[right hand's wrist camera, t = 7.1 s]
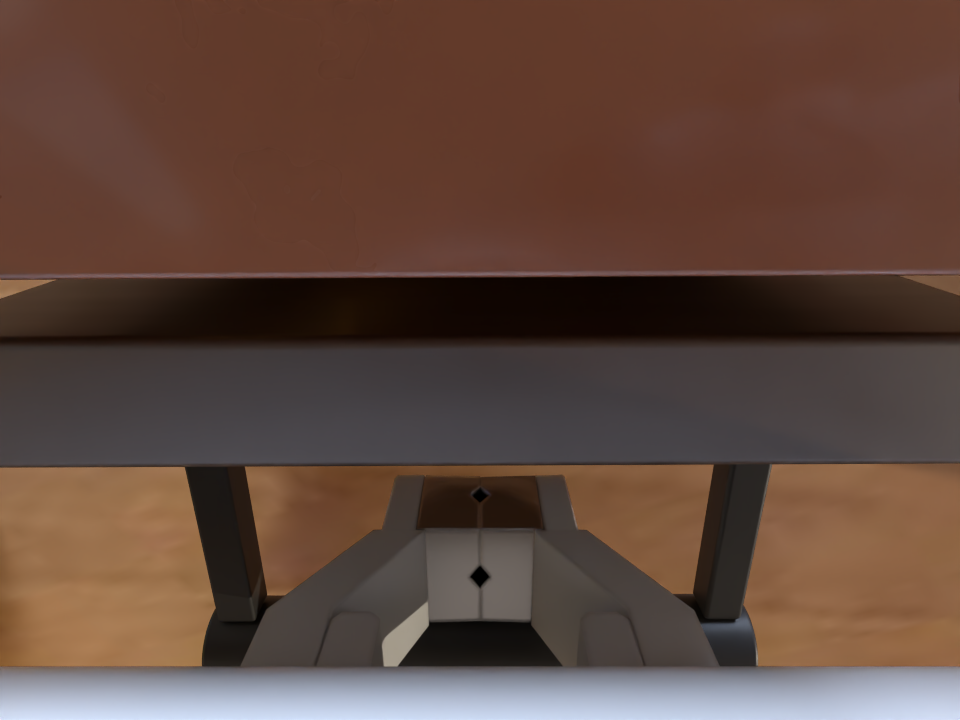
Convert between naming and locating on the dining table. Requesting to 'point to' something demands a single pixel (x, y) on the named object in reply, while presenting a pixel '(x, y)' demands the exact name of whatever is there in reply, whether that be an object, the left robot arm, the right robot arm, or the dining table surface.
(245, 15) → the cabinet
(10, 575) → the dining table surface
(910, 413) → the drawer
